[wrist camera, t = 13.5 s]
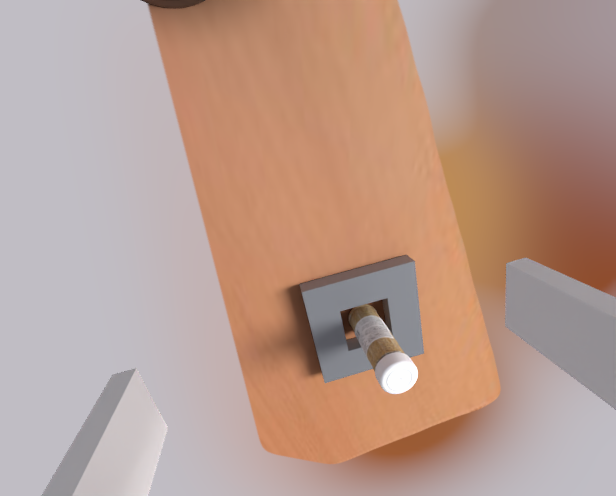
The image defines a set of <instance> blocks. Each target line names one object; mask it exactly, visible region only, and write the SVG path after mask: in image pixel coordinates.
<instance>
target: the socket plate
mask: <svg viewBox="0 0 616 496" xmlns="http://www.w3.org/2000/svg"><path fill="white" fill-rule="evenodd" d="M299 285H300V289H301V293H302V297H303V301H304V305H305V309H306V313H307V317H308V320H309V324H310V328H311V332H312V336H313V340H314V344H315V348H316V352H317V356H318V360H319V364H320V367H321V371H322V375H323V378H324V382H325V383H327V382H330V381H334V380H337V379H340V378H344V377H347V376H350V375H354V374H357V373H360V372H364V371H367V370H370V369H373V367H372V365H371V364H370V361H369V360H368V359H367V357H366V355H365V353H364V351H363V349H362V347H361V345H360V343H359V341H358V339H357V337H356V338H352V339H349V340H346V337H345V333H344V328H343V323H342V318H341V313H340V311H343V310H347V309H350V308H354V307H357V306H361V305H364V304H368V303H372V302H375V301H379V300H382V301H383V308H384V314H385V321H386V326H387V327H388V329H389V330H390V332H391V334H392V335H393V337H394V338H395V340H396V341H397V342H398V344H399V346H400V347H401V349H402V350H403V351H404V353H405V354H406V355H408V356H409V357H413V356H417V355H420V354H423V353H424V349H423V339H422V329H421V319H420V309H419V300H418V290H417V280H416V270H415V261H414V260H413V259H411V258H410V257H409V256H407V255H404V256H400V257H396V258H393V259H389V260H385V261H382V262H378V263H374V264H371V265H367V266H363V267H360V268H356V269H352V270H349V271H345V272H341V273H338V274H334V275H331V276H327V277H323V278H320V279H316V280H312V281H309V282H305V283H301V284H299Z"/></svg>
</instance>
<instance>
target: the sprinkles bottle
mask: <svg viewBox="0 0 616 496" xmlns="http://www.w3.org/2000/svg"><path fill="white" fill-rule="evenodd" d="M348 320H349V324H350V326H351V327H352V328H353V330H354V332H355V335H356V337H357V339H358V341H359V343H360V345H361V347H362V349H363V351H364V353H365V355H366V357H367V359H368V360H369V361H370V364H371V365H372V367H373V369H374V371H375V376H376V378H377V380H378V382H379V384H380V385H381V387H382V388H383V390H384V391H386V392H388V393H391V394H400V393H403V392H405V391H407V390H409V389H410V388H411V387H412V386H413V385H414V384H415V382H416V380H417V377H418V371H417V368H416V366H415V365H414V363H413V362H412V360H411V359H410V357H409V356H408V355H406V354H405V353H404V351H403V350H402V349H401V347H400V346H399V344H398V342H397V341H396V340H395V338H394V337H393V335H392V334H391V332H390V330H389V329H388V327H387V326H386V325H385V323H384V322H383V320H382V319H381V318H380V317H379V315H378V314H377V312H376V310H375V309H374V307H372V306H371V305H368V304H364V305H361V306H357V307H354V308H353V309H352V310H351V312H350V314H349V317H348Z"/></svg>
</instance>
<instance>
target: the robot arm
mask: <svg viewBox="0 0 616 496" xmlns="http://www.w3.org/2000/svg"><path fill="white" fill-rule="evenodd" d="M142 1H144V2H146V3H149V4H152V5H156V6H160V7H166V8H183V7H189V6H193V5H196V4H199V3H201V2H203V1H205V0H142ZM505 326H506V327H507V328H508V329H509V330H511V331H512V332H513V333H515V334H516V335H517V336H519V337H520V338H521V339H523V340H524V341H525V342H527V343H528V344H529V345H531V346H532V347H533V348H535V349H536V350H537V351H539V352H540V353H541V354H543V355H544V356H545V357H547V358H548V359H549V360H551V361H552V362H553V363H554V364H556V365H557V366H558V367H560V368H561V369H562V370H564V371H565V372H566V373H568V374H569V375H570V376H572V377H573V378H574V379H576V380H577V381H578V382H580V383H581V384H582V385H584V386H585V387H586V388H588V389H589V390H590V391H592V392H593V393H594V394H596V395H597V396H598V397H600V398H601V399H602V400H603V401H605V402H606V403H608V404H609V405H610V406H612V407H613V408H614V409H615V410H616V298H615V297H613V296H611V295H609V294H606V293H604V292H602V291H600V290H597V289H595V288H593V287H591V286H588V285H586V284H584V283H582V282H579V281H577V280H575V279H572V278H570V277H568V276H566V275H564V274H561V273H559V272H557V271H555V270H552V269H550V268H548V267H545V266H543V265H541V264H539V263H537V262H535V261H532V260H530V259H528V258H523V259H519V260H516V261H512V262H509V263H506V318H505ZM167 429H168V427H167V425H166V423H165V422H164V420H163V418H162V416H161V414H160V412H159V410H158V408H157V406H156V405H155V403H154V401H153V399H152V397H151V395H150V393H149V391H148V389H147V388H146V386H145V384H144V382H143V380H142V378H141V376H140V374H139V372H138V370H137V369H136V368H135V369H132V370H128V371H124V372H121V373H117V374H114V375H112V377H111V378H110V380H109V382H108V383H107V385H106V387H105V388H104V390H103V392H102V393H101V395H100V397H99V399H98V400H97V402H96V404H95V405H94V407H93V409H92V411H91V412H90V414H89V416H88V417H87V419H86V421H85V422H84V424H83V426H82V428H81V429H80V431H79V433H78V434H77V436H76V438H75V440H74V441H73V443H72V445H71V446H70V448H69V450H68V451H67V453H66V455H65V457H64V458H63V460H62V462H61V463H60V465H59V467H58V469H57V470H56V472H55V474H54V475H53V477H52V479H51V480H50V482H49V484H48V485H47V487H46V489H45V491H44V492H43V494H42V496H148V495H149V491H150V488H151V484H152V481H153V477H154V474H155V470H156V467H157V464H158V460H159V457H160V453H161V450H162V446H163V443H164V439H165V436H166V433H167Z"/></svg>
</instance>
